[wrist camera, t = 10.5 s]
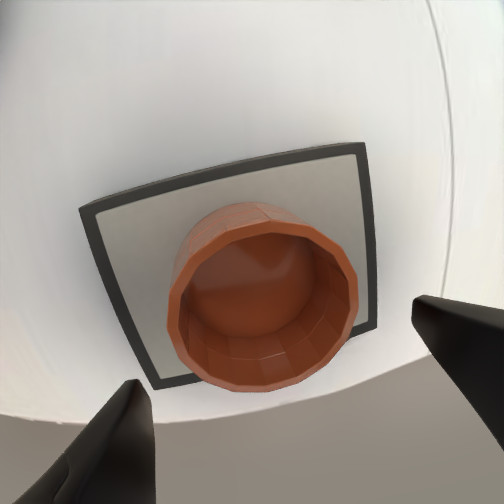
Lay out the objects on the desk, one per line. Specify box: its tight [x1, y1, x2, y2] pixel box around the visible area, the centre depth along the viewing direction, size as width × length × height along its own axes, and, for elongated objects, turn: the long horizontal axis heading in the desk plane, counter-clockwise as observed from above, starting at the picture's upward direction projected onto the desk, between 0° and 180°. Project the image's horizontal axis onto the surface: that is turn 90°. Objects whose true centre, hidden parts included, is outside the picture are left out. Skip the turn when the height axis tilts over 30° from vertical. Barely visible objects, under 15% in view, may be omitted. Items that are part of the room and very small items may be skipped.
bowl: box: [166, 202, 359, 392], centre depth 12 cm, size 7×7×4 cm
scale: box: [79, 142, 377, 390], centre depth 15 cm, size 14×11×3 cm
